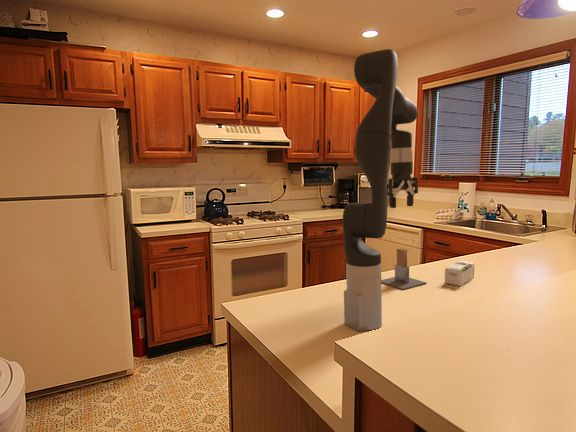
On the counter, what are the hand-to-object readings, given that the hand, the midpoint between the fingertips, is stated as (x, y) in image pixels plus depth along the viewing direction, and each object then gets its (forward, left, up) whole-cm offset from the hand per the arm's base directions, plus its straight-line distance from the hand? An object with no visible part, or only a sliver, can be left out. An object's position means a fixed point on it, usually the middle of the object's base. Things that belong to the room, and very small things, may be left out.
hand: (401, 206), depth 134 cm
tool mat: (0, 0, -28) cm, 28 cm away
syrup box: (+12, -12, -25) cm, 31 cm away
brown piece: (0, 0, -28) cm, 28 cm away
